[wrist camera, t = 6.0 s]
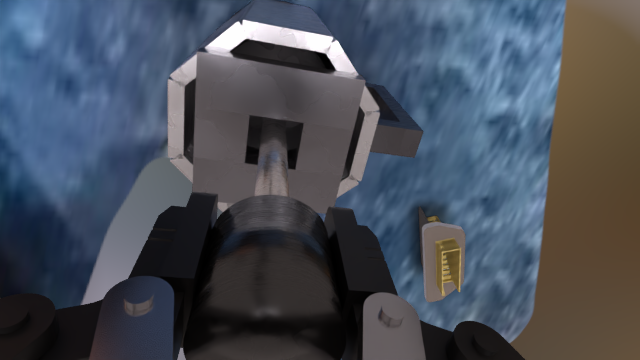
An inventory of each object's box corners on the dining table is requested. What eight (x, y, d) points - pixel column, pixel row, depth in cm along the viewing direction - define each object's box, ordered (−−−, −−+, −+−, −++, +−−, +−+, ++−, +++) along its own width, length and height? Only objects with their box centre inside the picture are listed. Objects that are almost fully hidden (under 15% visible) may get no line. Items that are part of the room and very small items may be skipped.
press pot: (217, -13, 27) (159, 6, 14) (386, 22, 29) (473, 65, 16) (210, 115, 31) (161, 219, 18) (357, 137, 34) (405, 243, 21)
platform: (485, 148, 36) (523, 182, 30) (477, 280, 45) (505, 325, 39) (364, 172, 36) (379, 210, 30) (380, 299, 45) (395, 347, 39)
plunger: (220, 23, 21) (54, 180, 6) (342, 46, 23) (488, 227, 7) (213, 138, 25) (98, 439, 9) (320, 152, 26) (382, 438, 10)
